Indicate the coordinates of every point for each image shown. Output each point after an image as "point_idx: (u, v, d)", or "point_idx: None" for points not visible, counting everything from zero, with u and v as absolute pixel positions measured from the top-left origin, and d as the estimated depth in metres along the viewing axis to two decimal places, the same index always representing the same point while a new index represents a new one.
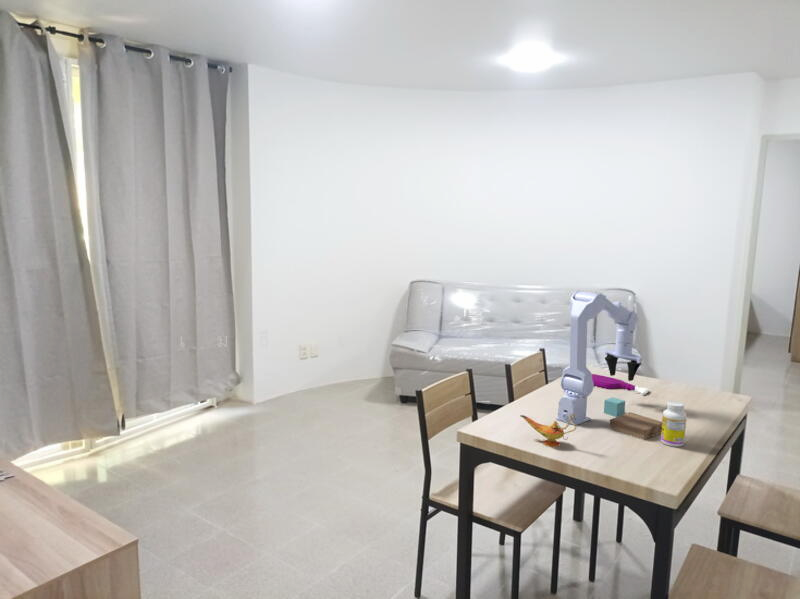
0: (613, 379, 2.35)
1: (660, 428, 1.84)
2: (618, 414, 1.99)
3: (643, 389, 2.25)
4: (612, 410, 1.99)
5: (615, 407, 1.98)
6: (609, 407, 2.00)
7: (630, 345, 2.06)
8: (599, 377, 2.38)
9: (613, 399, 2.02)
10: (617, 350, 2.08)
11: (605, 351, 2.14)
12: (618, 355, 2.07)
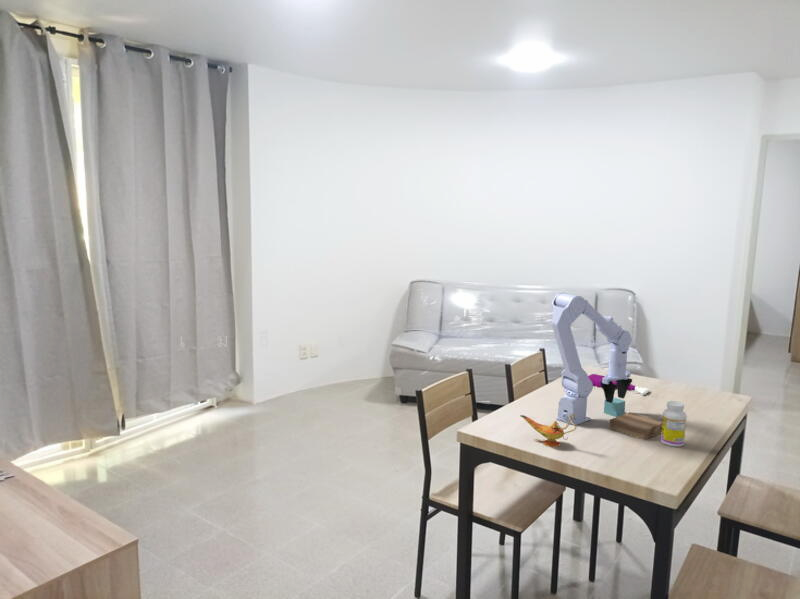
0: None
1: (660, 428, 1.84)
2: (618, 414, 1.99)
3: (643, 389, 2.25)
4: (612, 410, 1.99)
5: (615, 407, 1.98)
6: (609, 407, 2.00)
7: (612, 365, 1.97)
8: (599, 376, 2.38)
9: (613, 399, 2.02)
10: None
11: None
12: None
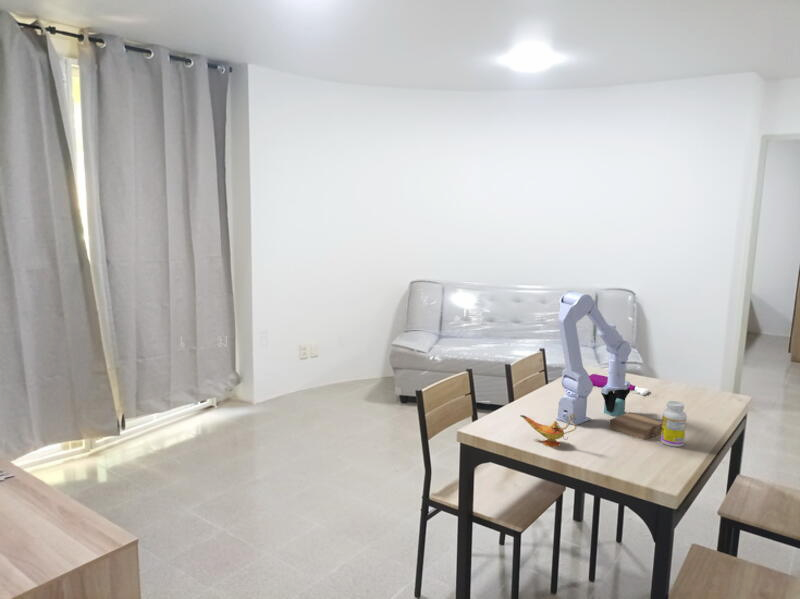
0: None
1: (660, 428, 1.84)
2: (618, 414, 1.98)
3: (643, 389, 2.25)
4: None
5: (615, 407, 1.98)
6: None
7: (611, 375, 1.98)
8: (599, 377, 2.38)
9: None
10: None
11: None
12: None
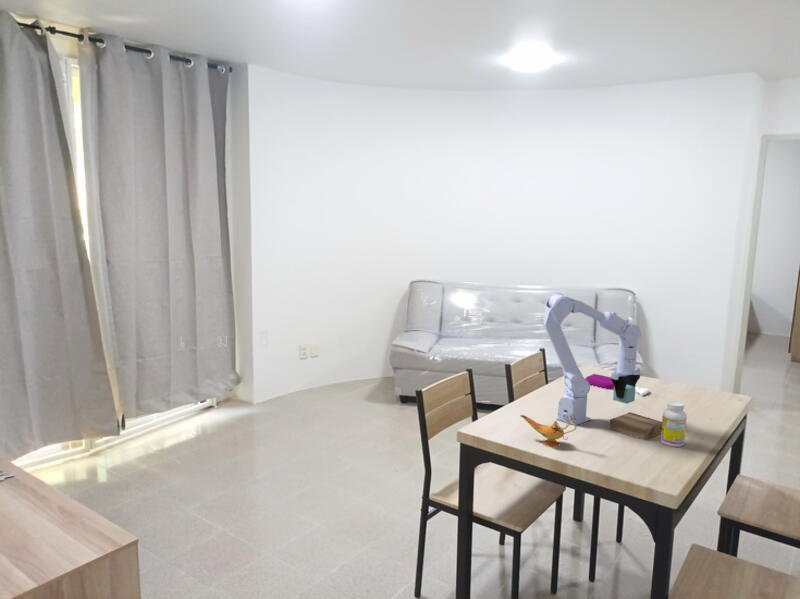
0: None
1: (660, 428, 1.84)
2: (628, 400, 1.92)
3: (643, 390, 2.24)
4: None
5: (626, 393, 1.91)
6: None
7: (621, 360, 1.91)
8: (600, 377, 2.38)
9: None
10: None
11: None
12: None
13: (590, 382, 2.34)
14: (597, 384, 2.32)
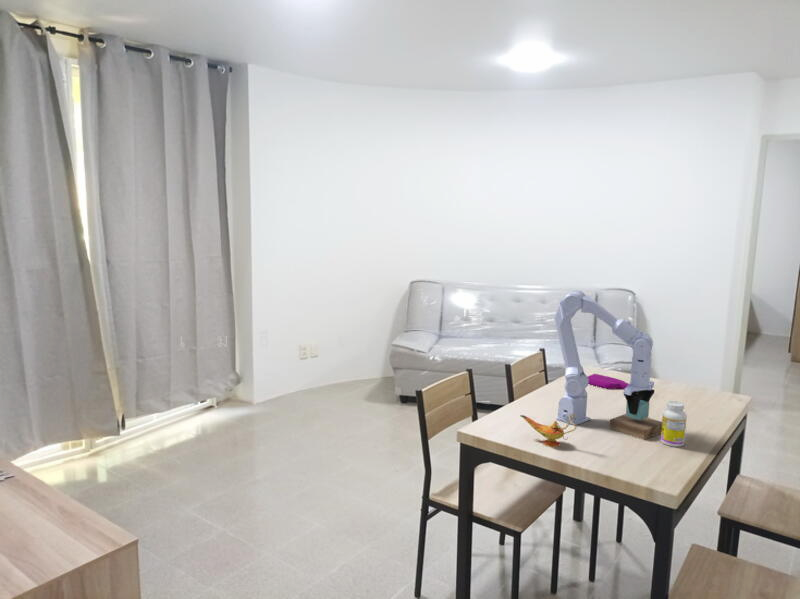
0: (614, 379, 2.35)
1: (660, 428, 1.84)
2: (642, 417, 1.83)
3: None
4: None
5: (639, 409, 1.82)
6: None
7: (635, 375, 1.82)
8: (600, 377, 2.38)
9: None
10: None
11: None
12: None
13: (590, 382, 2.34)
14: (597, 384, 2.32)
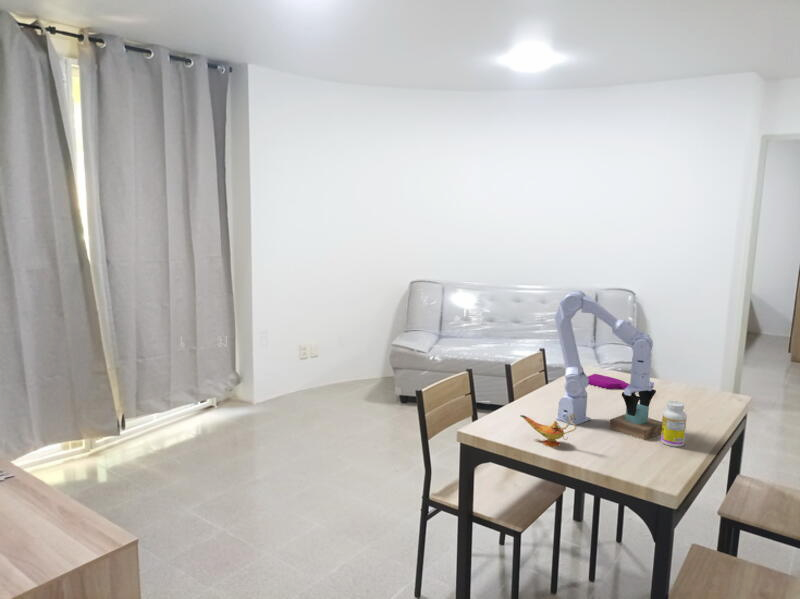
0: (614, 380, 2.34)
1: (660, 428, 1.84)
2: (641, 421, 1.83)
3: None
4: (635, 417, 1.83)
5: (639, 414, 1.82)
6: None
7: (635, 375, 1.82)
8: (600, 377, 2.38)
9: None
10: None
11: None
12: None
13: (590, 382, 2.34)
14: (597, 384, 2.32)
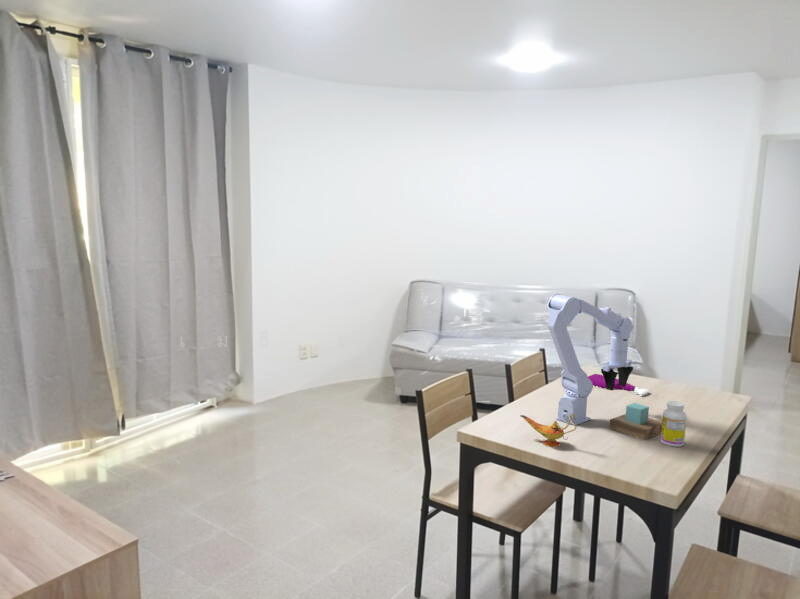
0: None
1: (660, 428, 1.84)
2: (641, 421, 1.83)
3: (642, 390, 2.23)
4: (635, 417, 1.83)
5: (639, 414, 1.82)
6: (631, 413, 1.84)
7: (613, 353, 1.97)
8: (601, 377, 2.38)
9: (635, 405, 1.86)
10: None
11: None
12: None
13: None
14: (597, 384, 2.32)
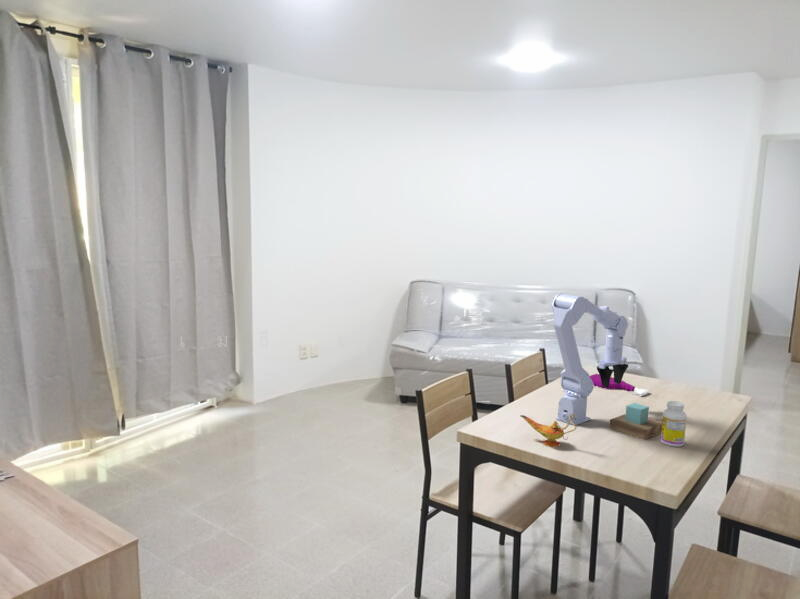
0: None
1: (660, 428, 1.84)
2: (641, 421, 1.83)
3: (642, 390, 2.23)
4: (635, 417, 1.83)
5: (639, 414, 1.82)
6: (631, 413, 1.84)
7: (608, 350, 2.00)
8: None
9: (635, 405, 1.86)
10: None
11: None
12: None
13: None
14: (597, 384, 2.32)
